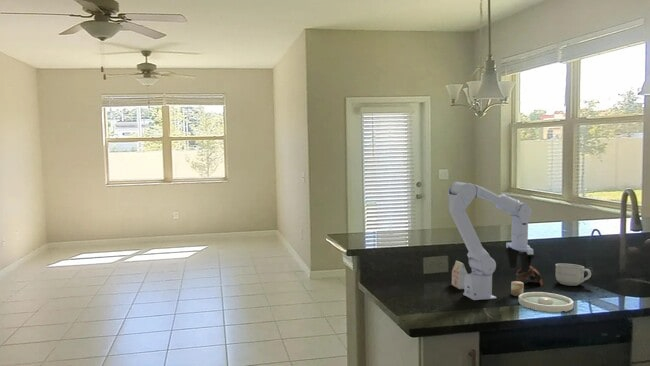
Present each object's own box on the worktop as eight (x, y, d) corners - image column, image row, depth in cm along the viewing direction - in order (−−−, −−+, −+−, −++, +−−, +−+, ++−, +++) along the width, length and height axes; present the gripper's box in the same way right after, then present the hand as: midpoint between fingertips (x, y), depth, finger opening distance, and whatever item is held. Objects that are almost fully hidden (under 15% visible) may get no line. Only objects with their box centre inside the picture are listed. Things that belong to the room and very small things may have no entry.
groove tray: (539, 313, 175) (539, 307, 175) (509, 299, 192) (509, 293, 192) (584, 309, 179) (584, 304, 179) (550, 296, 196) (551, 290, 196)
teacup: (549, 282, 216) (549, 263, 216) (567, 279, 221) (568, 261, 220) (578, 290, 204) (578, 270, 203) (597, 287, 208) (597, 267, 208)
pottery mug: (543, 289, 208) (532, 271, 208) (521, 295, 213) (511, 278, 213) (547, 275, 218) (537, 258, 218) (525, 282, 223) (516, 265, 223)
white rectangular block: (460, 284, 213) (460, 260, 213) (467, 288, 207) (467, 263, 206) (451, 284, 213) (451, 260, 212) (458, 289, 206) (459, 264, 206)
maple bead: (515, 296, 196) (515, 284, 196) (508, 293, 200) (508, 281, 200) (525, 295, 197) (526, 283, 197) (518, 292, 201) (519, 281, 201)
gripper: (541, 236, 191) (540, 273, 192) (517, 231, 205) (516, 265, 206) (524, 237, 190) (523, 274, 190) (501, 231, 204) (500, 266, 204)
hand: (518, 269), depth 198 cm, fingers open, 7 cm apart
